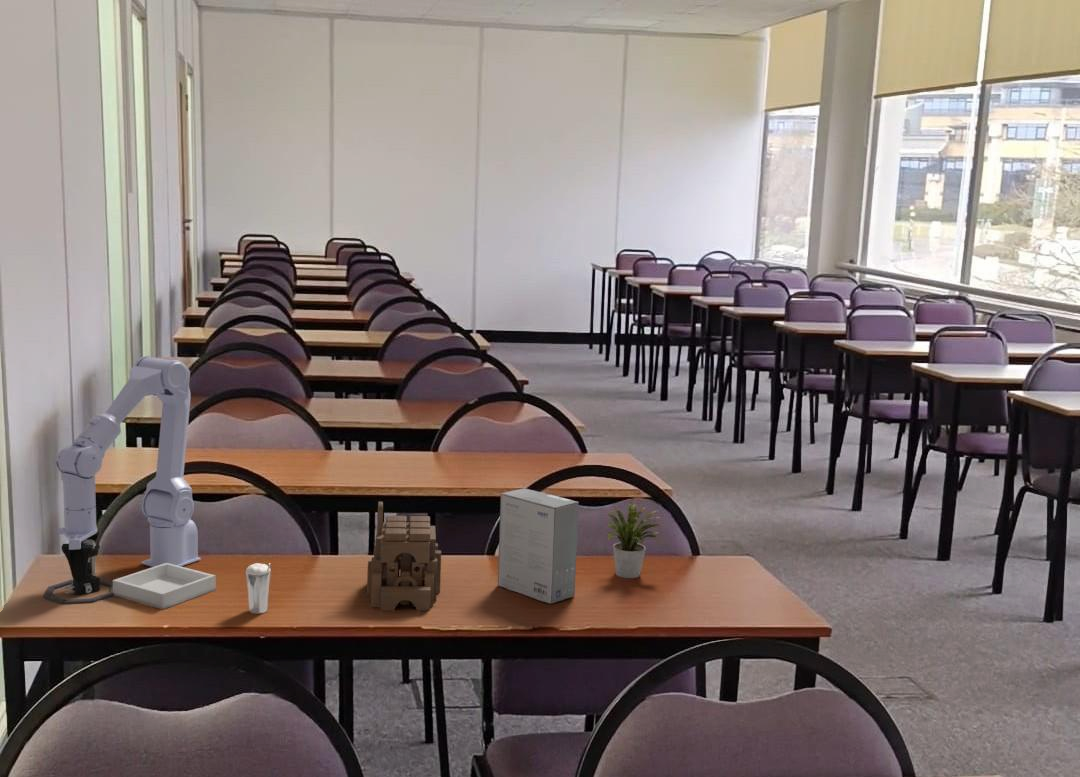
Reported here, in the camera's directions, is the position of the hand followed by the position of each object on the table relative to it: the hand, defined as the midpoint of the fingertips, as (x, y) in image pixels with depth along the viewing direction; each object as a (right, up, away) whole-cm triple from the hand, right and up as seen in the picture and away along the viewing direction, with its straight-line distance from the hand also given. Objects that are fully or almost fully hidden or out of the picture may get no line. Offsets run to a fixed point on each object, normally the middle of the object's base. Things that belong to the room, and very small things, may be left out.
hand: (81, 574), depth 223 cm
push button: (0, -4, 0) cm, 4 cm away
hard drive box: (+88, -6, +12) cm, 90 cm away
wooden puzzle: (+62, -5, +9) cm, 63 cm away
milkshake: (+36, -6, -6) cm, 37 cm away
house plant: (+108, -4, +24) cm, 111 cm away
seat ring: (0, -4, +1) cm, 3 cm away
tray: (+16, -4, +2) cm, 16 cm away
